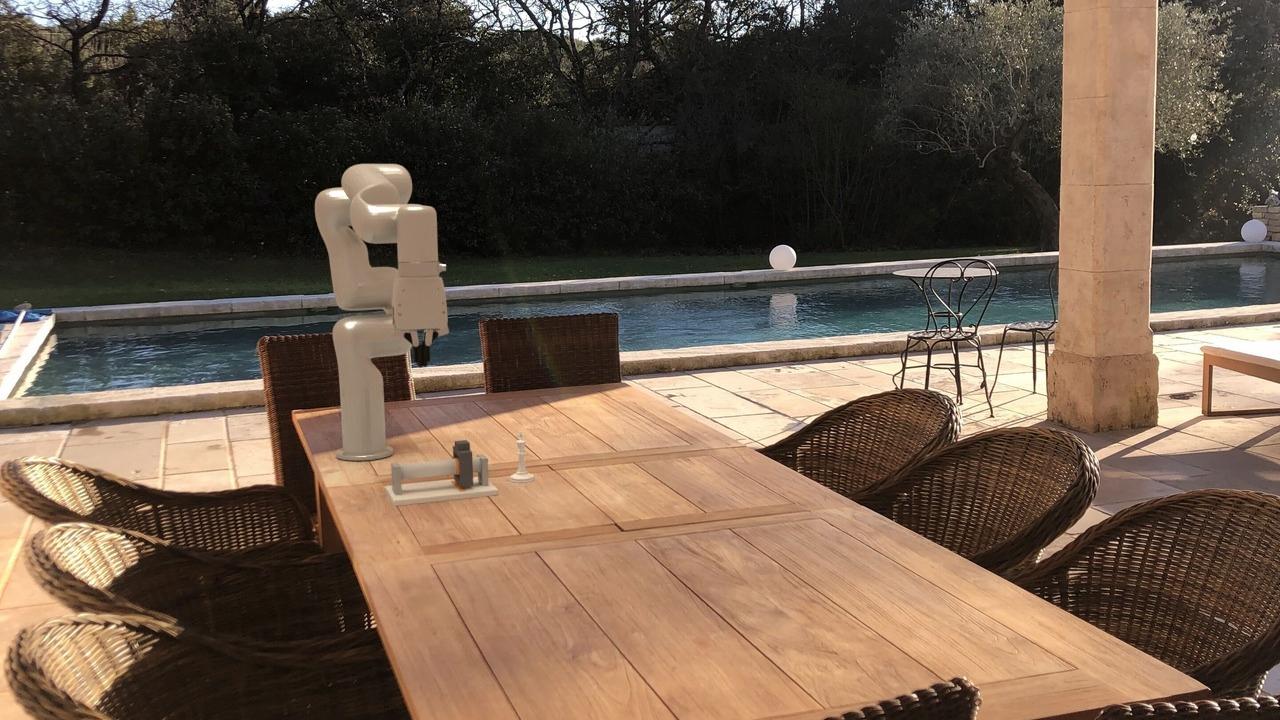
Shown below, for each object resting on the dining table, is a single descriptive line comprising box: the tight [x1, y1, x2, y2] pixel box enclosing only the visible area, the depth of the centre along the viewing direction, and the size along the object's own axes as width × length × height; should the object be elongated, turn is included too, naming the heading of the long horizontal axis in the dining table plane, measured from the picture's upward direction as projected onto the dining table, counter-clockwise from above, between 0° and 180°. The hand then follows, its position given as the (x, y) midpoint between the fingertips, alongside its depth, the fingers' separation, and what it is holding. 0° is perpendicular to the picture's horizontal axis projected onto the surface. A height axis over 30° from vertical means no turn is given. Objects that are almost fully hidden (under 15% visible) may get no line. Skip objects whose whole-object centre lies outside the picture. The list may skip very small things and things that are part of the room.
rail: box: [384, 454, 499, 507], centre depth 220 cm, size 20×12×7 cm, turn 111°
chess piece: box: [509, 431, 535, 484], centre depth 229 cm, size 5×5×10 cm
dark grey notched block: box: [452, 439, 474, 487], centre depth 221 cm, size 2×7×8 cm, turn 21°
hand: (421, 365), depth 217 cm, fingers closed
